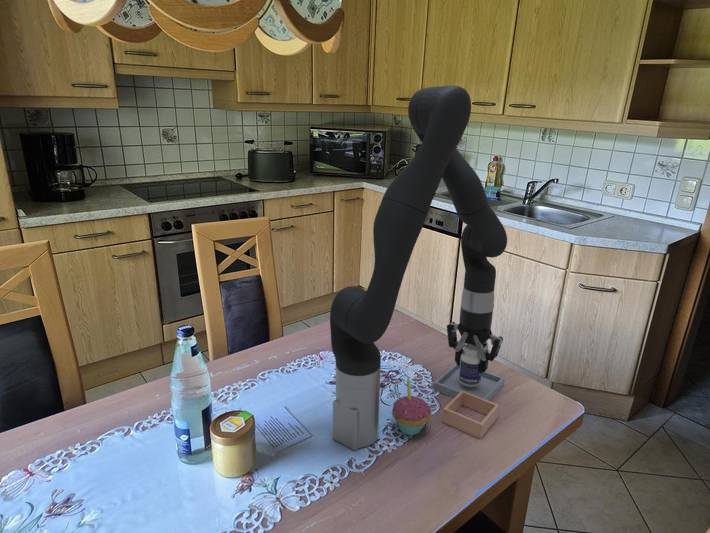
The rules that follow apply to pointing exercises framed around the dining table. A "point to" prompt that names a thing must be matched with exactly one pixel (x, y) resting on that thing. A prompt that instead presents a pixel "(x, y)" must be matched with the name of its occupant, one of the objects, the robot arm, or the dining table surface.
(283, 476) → the dining table surface
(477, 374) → the pill bottle
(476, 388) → the tray
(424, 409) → the cupcake
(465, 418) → the holder
